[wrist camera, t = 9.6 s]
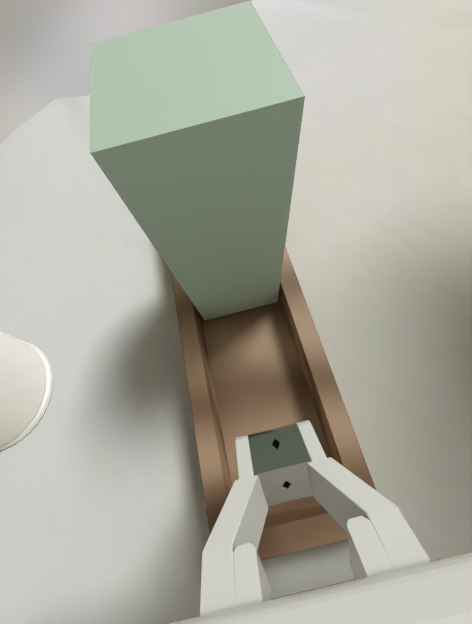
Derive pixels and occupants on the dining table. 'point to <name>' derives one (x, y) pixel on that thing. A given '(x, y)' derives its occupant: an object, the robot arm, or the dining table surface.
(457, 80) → the dining table surface
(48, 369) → the spray can
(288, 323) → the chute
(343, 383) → the dining table surface
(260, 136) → the block
